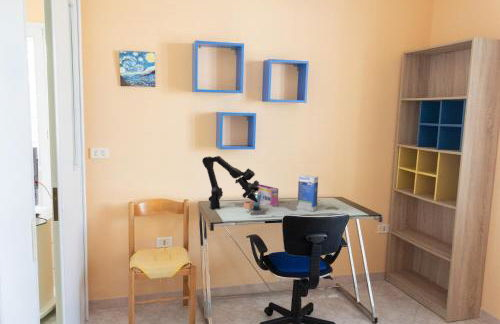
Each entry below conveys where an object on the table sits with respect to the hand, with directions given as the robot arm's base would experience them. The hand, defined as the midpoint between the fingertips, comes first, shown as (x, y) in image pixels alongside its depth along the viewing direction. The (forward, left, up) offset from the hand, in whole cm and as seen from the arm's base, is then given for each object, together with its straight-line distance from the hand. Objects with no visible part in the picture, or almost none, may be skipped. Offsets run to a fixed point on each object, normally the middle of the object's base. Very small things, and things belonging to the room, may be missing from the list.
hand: (258, 201), depth 280 cm
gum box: (+18, +31, -10) cm, 37 cm away
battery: (-1, +1, -6) cm, 6 cm away
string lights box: (+42, +4, -10) cm, 43 cm away
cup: (0, +17, -10) cm, 20 cm away
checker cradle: (-1, +1, -10) cm, 10 cm away
